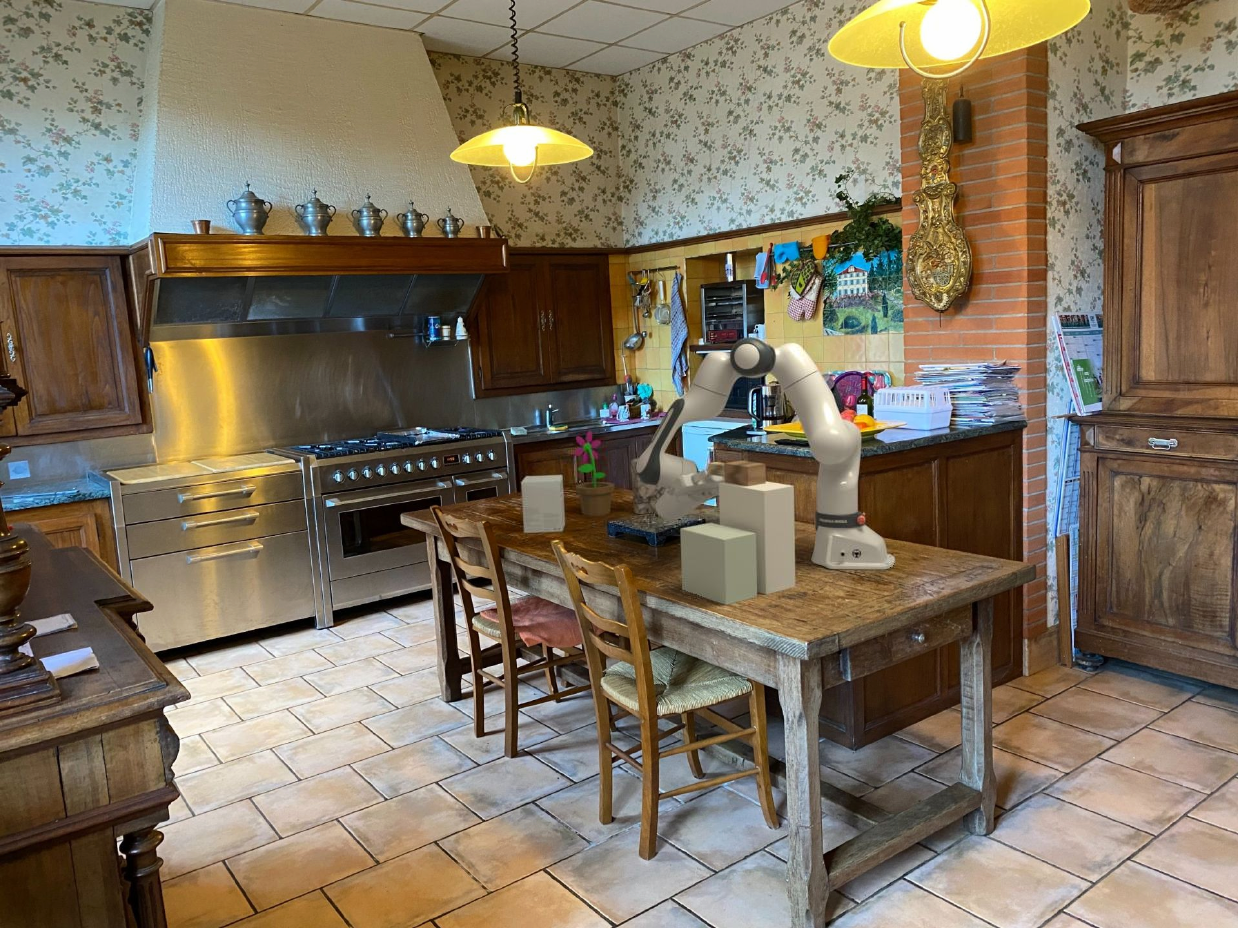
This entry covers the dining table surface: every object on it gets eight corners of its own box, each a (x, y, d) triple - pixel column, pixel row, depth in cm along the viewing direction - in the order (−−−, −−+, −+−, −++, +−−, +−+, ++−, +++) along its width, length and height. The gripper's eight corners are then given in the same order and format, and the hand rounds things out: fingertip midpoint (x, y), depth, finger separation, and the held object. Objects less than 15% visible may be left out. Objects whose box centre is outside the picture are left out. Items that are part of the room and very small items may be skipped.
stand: (682, 589, 233) (679, 489, 229) (749, 573, 246) (747, 478, 242) (726, 604, 219) (723, 498, 215) (795, 586, 232) (793, 485, 228)
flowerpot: (600, 507, 346) (597, 428, 342) (623, 512, 335) (620, 431, 330) (569, 512, 338) (565, 432, 334) (591, 518, 326) (587, 435, 322)
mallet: (703, 478, 245) (703, 460, 244) (721, 475, 248) (720, 457, 247) (748, 486, 230) (747, 466, 229) (765, 483, 233) (765, 464, 233)
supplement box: (565, 523, 320) (563, 474, 317) (562, 531, 307) (560, 480, 304) (528, 525, 320) (525, 475, 318) (523, 533, 307) (520, 482, 304)
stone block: (640, 515, 327) (638, 460, 324) (631, 512, 333) (629, 458, 331) (672, 511, 333) (670, 457, 331) (662, 508, 340) (660, 455, 337)
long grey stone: (667, 516, 332) (650, 523, 325) (665, 502, 332) (648, 508, 324) (749, 521, 310) (733, 528, 302) (748, 505, 309) (732, 512, 302)
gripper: (660, 484, 249) (686, 463, 238) (717, 475, 260) (745, 454, 249) (667, 505, 247) (694, 485, 236) (725, 495, 258) (753, 475, 248)
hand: (721, 469), depth 243 cm, fingers open, 8 cm apart
